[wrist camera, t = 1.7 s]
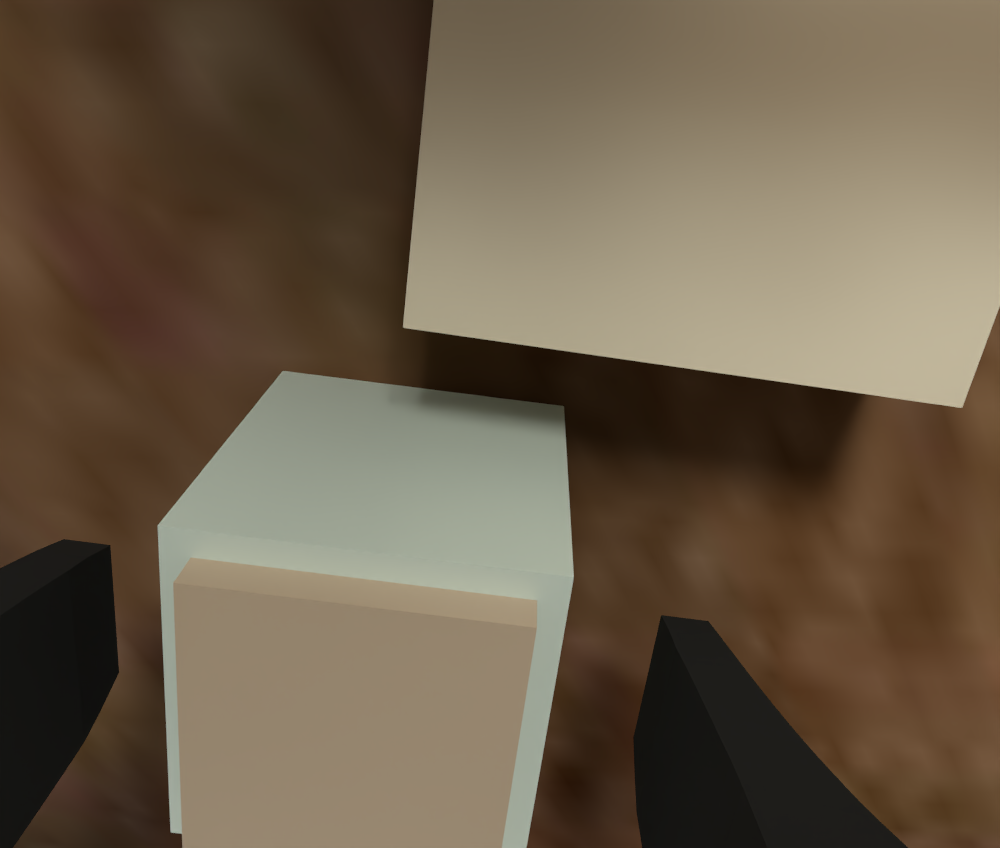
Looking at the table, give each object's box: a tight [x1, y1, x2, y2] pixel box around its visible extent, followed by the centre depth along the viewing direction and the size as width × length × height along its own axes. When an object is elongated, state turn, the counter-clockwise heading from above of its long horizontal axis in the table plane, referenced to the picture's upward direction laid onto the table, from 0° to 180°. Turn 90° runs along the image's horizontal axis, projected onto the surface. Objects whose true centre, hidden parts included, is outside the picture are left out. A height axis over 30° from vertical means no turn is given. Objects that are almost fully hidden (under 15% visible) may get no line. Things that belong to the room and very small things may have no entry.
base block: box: [403, 0, 1000, 408], centre depth 11 cm, size 7×7×3 cm
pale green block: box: [158, 371, 574, 848], centre depth 12 cm, size 4×4×6 cm
